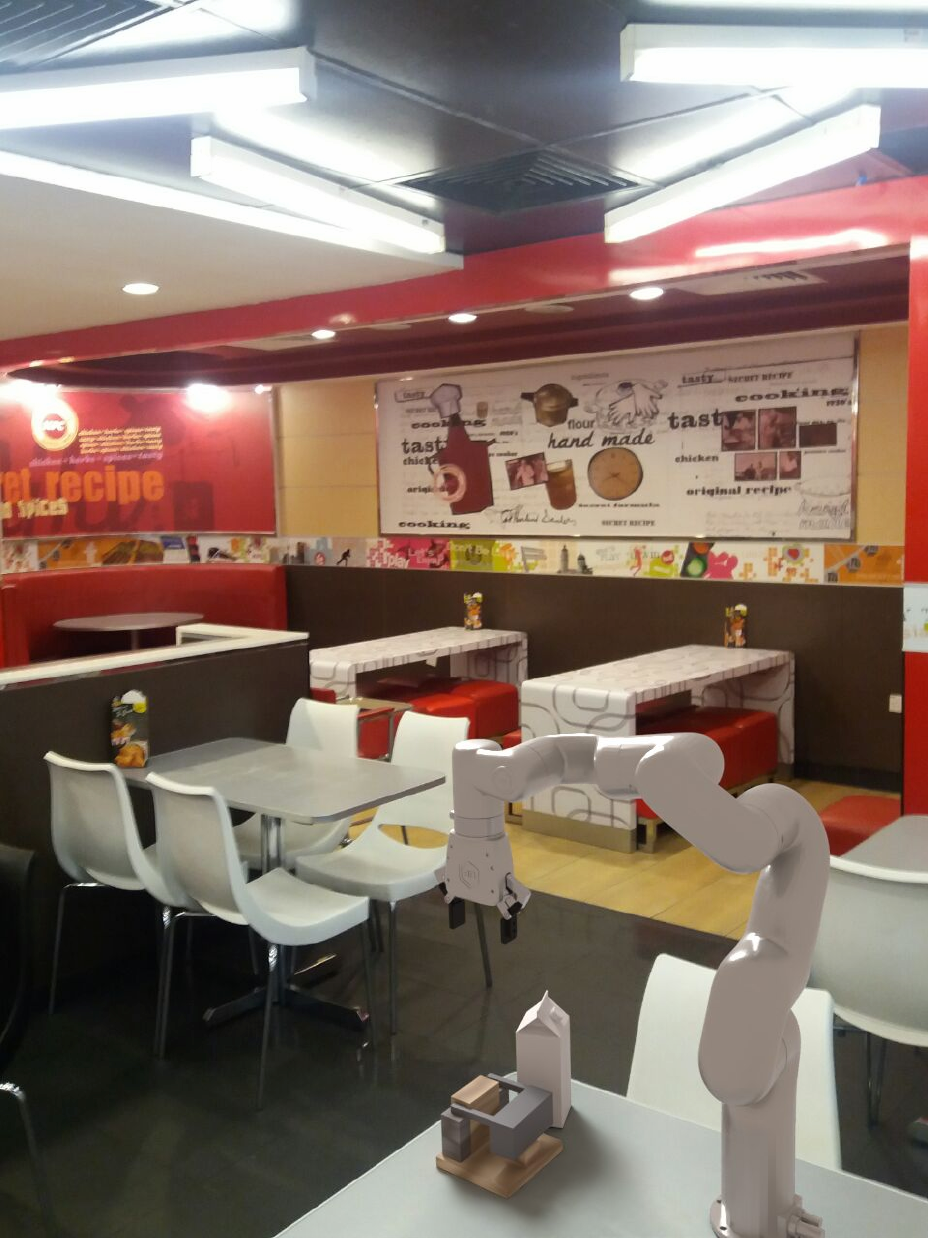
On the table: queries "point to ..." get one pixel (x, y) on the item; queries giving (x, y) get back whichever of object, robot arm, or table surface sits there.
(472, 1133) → the stacked wooden blocks
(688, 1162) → the table surface
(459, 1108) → the grey bracket
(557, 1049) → the milk carton
